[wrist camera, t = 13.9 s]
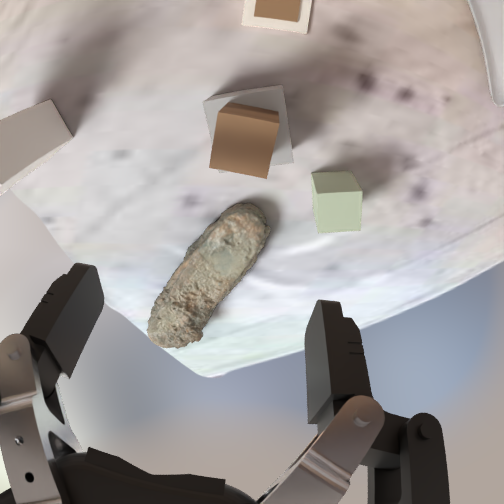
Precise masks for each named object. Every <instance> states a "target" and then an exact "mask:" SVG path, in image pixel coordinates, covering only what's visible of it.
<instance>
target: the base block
mask: <svg viewBox="0 0 504 504" xmlns="http://www.w3.org/2000/svg"><path fill="white" fill-rule="evenodd" d="M228 102H231V103H237V104H243V105H248V106H254V107H259V108H264V109H269V110H273V111H278V112H279V123H280V124H279V128H278V133H277V137H276V141H275V145H274V149H273V154H272V158H271V162H270V166H273V165H282V164H290V163H294V160H293V153H292V145H291V138H290V131H289V124H288V117H287V110H286V104H285V97H284V91H283V87H282V85H276V86H268V87H261V88H254V89H248V90H242V91H236V92H230V93H225V94H220V95H215V96H211V97H210V98H208V99H206V100H205V101H203V106H204V111H205V115H206V119H207V124H208V128H209V132H210V137H211V141H212V145H213V139H214V133H215V127H216V120H217V114H218V111H220V110H221V109H222V108H223V107H224V106H225V105H226V104H227V103H228ZM218 171H219V173H223V172H230V171H225V170H219V169H218Z"/></svg>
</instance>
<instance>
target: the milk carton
mask: <svg viewBox="0 0 504 504" xmlns="http://www.w3.org/2000/svg"><path fill="white" fill-rule="evenodd" d="M72 139H73V137H72V135H71V133H70V131H69V130H68V128H67V126H66V125H65V123H64V121H63V119H62V118H61V116H60V114H59V112H58V111H57V109H56V107H55V105H54V104H53V102H52V100H51V99H50V100H47V101H45V102H42V103H39V104H37V105H34V106H32V107H29V108H27V109H24V110H22V111H20V112H17V113H15V114H13V115H11V116H8V117H6V118H4V119H2V120H0V196H1V195H2V194H4V193H5V192H6V191H7V190H9V189H10V188H11V187H12V186H14V185H15V184H16V183H18V182H19V181H20V180H22V179H23V178H24V177H26V176H27V175H28V174H30V173H31V172H33V171H34V170H35V169H37V168H38V167H40V166H41V165H43V164H44V163H46V162H47V161H48V160H49V159H50V158H51V157H52V156H54V155H55V154H56V153H57V152H58V151H59V150H60V149H61V148H62V147H64V146H65V145H66V144H67V143H68V142H69V141H70V140H72Z"/></svg>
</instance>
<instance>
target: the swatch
mask: <svg viewBox="0 0 504 504" xmlns="http://www.w3.org/2000/svg"><path fill="white" fill-rule="evenodd" d="M311 3H312V0H245V3H244V10H243V17H242V24H241V25H242V26H252V27H261V28H270V29H277V30H284V31H290V32H296V33H302V34H307V29H308V22H309V16H310V10H311Z"/></svg>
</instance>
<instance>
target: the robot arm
mask: <svg viewBox="0 0 504 504" xmlns="http://www.w3.org/2000/svg"><path fill="white" fill-rule="evenodd" d="M103 305H104V294H103V290H102V287H101V283H100V279H99V275H98V272H97V268H96V267H95V266H93V265H88V264H82V263H75V264H74V265H73V267H72V268H71V269H70V271H69V272H68V274H63V275H62V276H60V277H59V278H58V279H57V280H56V281H54V282H53V283H52V285H51V286H50V288H49V289H48V291H47V293H46V294H45V295H44V296H43V298H42V300H41V302H40V303H39V304H38V306H37V307H36V309H35V310H34V312H33V313H32V315H31V317H30V318H29V320H28V321H27V323H26V325H25V326H24V328H23V330H22V331H21V333H20V334H12V335H9V336H7V337H6V338H5V339H4V340H3V341H2V342H1V343H0V447H1V451H2V455H3V460H4V464H5V468H6V471H7V475H8V479H9V482H10V486H11V488H10V489H8V490H6V491H4V492H3V493H1V494H0V504H338V502H339V501H340V500H341V498H342V497H343V496H344V494H345V493H346V491H347V490H348V488H349V485H350V481H349V480H350V478H351V476H352V474H353V473H354V471H355V470H356V468H357V467H358V466H359V464H361V465H365V466H368V504H450V496H449V482H448V471H447V462H446V454H445V447H444V440H443V433H442V428H441V425H440V423H439V421H438V420H437V419H436V418H435V417H434V416H432V415H431V414H428V413H419V414H416V415H414V416H413V417H412V418H411V419H409V418H405V417H401V416H398V415H394V414H390V413H388V412H386V411H384V410H383V409H382V407H381V405H380V404H379V403H378V402H377V401H376V400H374V399H373V396H372V392H371V387H370V381H369V376H368V370H367V365H366V360H365V356H364V349H363V345H362V339H361V335H360V330H359V328H358V327H357V325H356V324H355V322H354V321H353V319H352V318H347V317H343V313H342V308H341V304H340V302H337V301H327V300H318V301H317V302H316V305H315V307H314V310H313V313H312V315H311V318H310V320H309V323H308V325H307V328H306V333H305V358H306V359H305V360H306V379H307V380H306V381H307V406H308V424H318V434H317V435H316V436H315V437H314V438H313V440H312V441H311V442H310V443H309V444H308V446H307V447H306V448H305V449H304V450H303V452H302V453H301V454H300V455H299V456H298V458H296V460H295V461H294V462H293V463H292V464H291V465H290V466H289V467H288V469H287V470H286V471H285V472H284V473H283V474H282V475H281V476H280V477H279V478H278V479H277V480H276V481H275V482H274V483H273V484H272V485H271V486H270V487H269V488H268V489H267V490H266V491H265V492H264V493H263V494H262V495H261V496H260V497H259V498H258V499H257V500H256V501H255V500H254V499H252V498H251V497H250V496H248V495H247V494H245V493H244V492H242V491H240V490H239V489H236V488H234V487H232V486H229V485H227V484H225V479H218V478H211V477H204V476H197V475H192V474H181V475H152V474H149V473H147V472H145V471H143V470H141V469H139V468H137V467H136V466H134V465H132V464H130V463H128V462H127V461H125V460H123V459H121V458H120V457H117V456H114V455H110V454H108V453H105V452H102V451H99V450H96V449H93V448H90V447H89V448H88V451H87V452H83V451H82V449H81V446H80V444H79V442H78V440H77V438H76V436H75V435H74V433H73V432H72V430H71V427H70V425H69V422H68V419H67V415H66V412H65V408H64V404H63V401H62V397H61V393H60V389H59V385H58V383H57V380H58V378H59V376H62V377H65V378H68V379H70V377H71V375H72V373H73V370H74V368H75V366H76V364H77V361H78V359H79V357H80V354H81V353H82V350H83V348H84V346H85V344H86V342H87V340H88V338H89V336H90V334H91V332H92V329H93V327H94V325H95V323H96V321H97V319H98V317H99V315H100V313H101V312H102V309H103Z"/></svg>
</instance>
